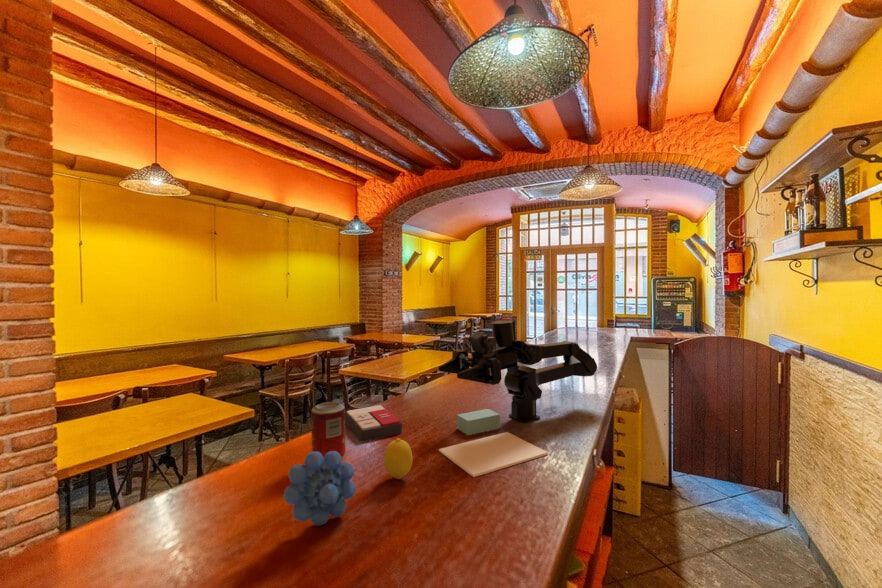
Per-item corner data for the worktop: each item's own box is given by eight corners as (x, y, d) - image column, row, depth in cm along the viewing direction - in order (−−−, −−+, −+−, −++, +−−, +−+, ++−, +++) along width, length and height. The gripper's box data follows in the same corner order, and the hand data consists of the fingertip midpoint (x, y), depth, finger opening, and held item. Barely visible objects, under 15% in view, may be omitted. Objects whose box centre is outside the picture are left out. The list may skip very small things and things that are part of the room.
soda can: (352, 460, 83) (351, 404, 83) (323, 472, 78) (322, 412, 77) (333, 451, 88) (332, 398, 87) (305, 462, 82) (304, 406, 82)
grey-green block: (488, 422, 106) (488, 408, 106) (500, 429, 101) (499, 414, 101) (457, 429, 101) (456, 414, 101) (468, 436, 96) (467, 420, 96)
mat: (507, 433, 97) (507, 431, 97) (547, 454, 85) (547, 452, 85) (438, 451, 87) (438, 449, 87) (473, 477, 75) (473, 474, 75)
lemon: (417, 474, 76) (416, 435, 76) (405, 488, 71) (405, 445, 71) (392, 470, 78) (391, 431, 78) (379, 483, 73) (378, 442, 73)
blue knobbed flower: (294, 555, 53) (292, 470, 53) (279, 532, 59) (277, 454, 58) (368, 522, 61) (367, 447, 61) (348, 504, 66) (347, 435, 66)
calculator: (361, 428, 93) (344, 409, 106) (361, 445, 93) (344, 424, 106) (402, 420, 98) (381, 402, 111) (402, 436, 99) (381, 417, 112)
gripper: (474, 328, 111) (427, 337, 104) (516, 334, 95) (465, 345, 88) (477, 365, 112) (431, 377, 104) (520, 378, 96) (469, 392, 88)
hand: (447, 372), depth 96 cm, fingers open, 9 cm apart
